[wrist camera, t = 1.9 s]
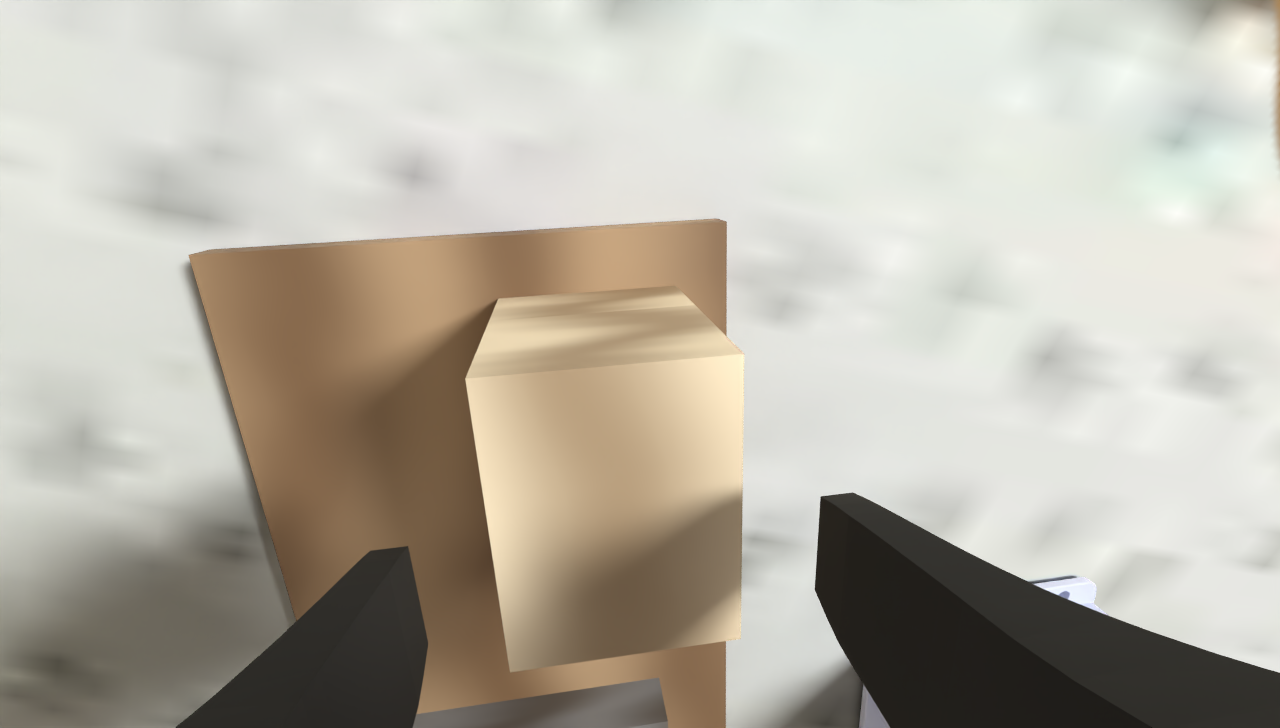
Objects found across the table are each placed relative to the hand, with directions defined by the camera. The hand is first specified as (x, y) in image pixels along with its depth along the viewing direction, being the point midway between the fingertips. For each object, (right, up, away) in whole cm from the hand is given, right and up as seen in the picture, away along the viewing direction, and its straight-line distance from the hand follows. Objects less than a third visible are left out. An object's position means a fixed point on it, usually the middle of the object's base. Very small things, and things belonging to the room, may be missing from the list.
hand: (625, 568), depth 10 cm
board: (-4, -4, +10) cm, 12 cm away
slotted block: (-1, +2, +7) cm, 8 cm away
